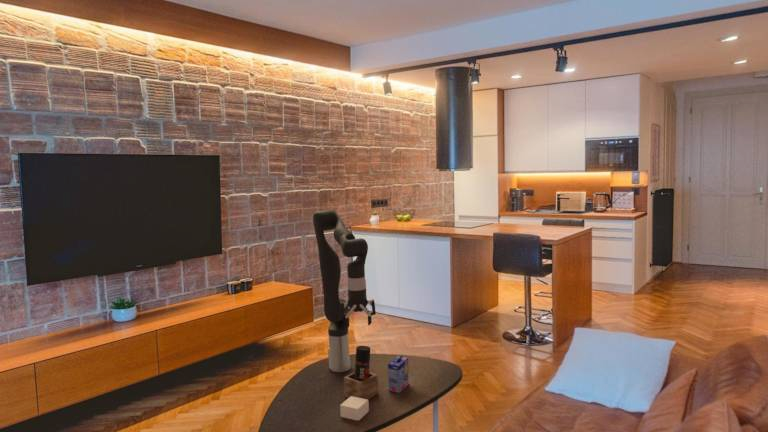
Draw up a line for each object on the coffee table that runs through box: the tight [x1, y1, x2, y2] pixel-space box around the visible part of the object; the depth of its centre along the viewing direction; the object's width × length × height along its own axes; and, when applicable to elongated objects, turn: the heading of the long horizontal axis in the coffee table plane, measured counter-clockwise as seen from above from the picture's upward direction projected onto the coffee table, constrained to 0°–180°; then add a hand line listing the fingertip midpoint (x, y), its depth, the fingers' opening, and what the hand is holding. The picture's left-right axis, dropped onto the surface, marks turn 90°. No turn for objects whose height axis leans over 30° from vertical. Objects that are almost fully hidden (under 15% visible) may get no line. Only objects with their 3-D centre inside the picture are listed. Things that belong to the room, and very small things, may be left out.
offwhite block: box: [339, 396, 370, 422], centre depth 207 cm, size 8×8×5 cm
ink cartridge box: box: [387, 354, 409, 394], centre depth 227 cm, size 10×6×14 cm, turn 152°
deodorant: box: [354, 345, 371, 381], centre depth 222 cm, size 6×6×15 cm
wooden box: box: [343, 371, 379, 401], centre depth 223 cm, size 10×10×8 cm
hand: (358, 325), depth 220 cm, fingers open, 8 cm apart
